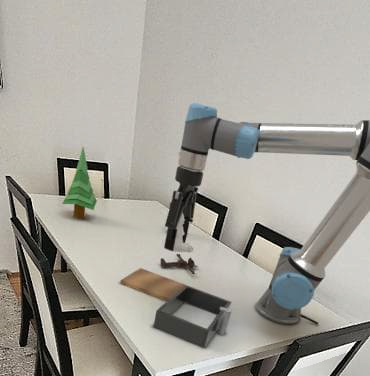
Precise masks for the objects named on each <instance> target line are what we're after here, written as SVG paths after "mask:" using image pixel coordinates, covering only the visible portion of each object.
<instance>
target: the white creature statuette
mask: <svg viewBox="0 0 370 376" xmlns="http://www.w3.org/2000/svg"><path fill="white" fill-rule="evenodd" d="M168 213H169V210H168V211H167V214H168ZM184 221H185V219H184V214H183V213H182V214H181V217H180V220H179V222H178V225H177V228H176V229H177V234H176V239H175V244H174V249H173V251H171V250H168V249H166V250H167V251H170V252H173V253H174V252H175V253H192V252H193V251H194V246H193V245H191V244H190V242H185V243H183V238H182V237H183V235H184V234H185V233H184V230H183V225H182V224H184ZM166 235H167V233H165V235H164V237H163V239H162V246H163V247H164V246H165V240H166Z"/></svg>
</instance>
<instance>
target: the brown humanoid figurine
mask: <svg viewBox="0 0 370 376" xmlns="http://www.w3.org/2000/svg"><path fill="white" fill-rule="evenodd" d="M175 255H176V257H177V258H178V260H177V261H166V260H165V258H163V257H162V258H160V267H162V269H165V268H175V267H176V268H177V267H179V268H186V269H187V270H188V271H189V272H190V274H191V275H193V276H194V275H196V271H195V269H194V270H193V268H198V265H196V264H195V261H194V260H193V259H192V257H189V258H187V259H188V260H187V261H186V260H185V259H184V258H182V256H181V253H176V254H175Z"/></svg>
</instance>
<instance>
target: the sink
mask: <svg viewBox="0 0 370 376" xmlns="http://www.w3.org/2000/svg"><path fill="white" fill-rule="evenodd" d="M184 303H186V304H189V305H192V306H194V307H197V308H198V309H199V308H200V309H202V310H205V311H207V312H210V313H212V314H215V315H216V317H215V318H214V319H213V320H212V321H211V323H210V324H209V325H208V327H207V328H206V327H204V326H201V325H198V324H196V323H193V322H191V321H188V320H186V319H184V318H181V317H179V316H175V315H174V314H173V313H174V312H175V311H176V310H177V309H179V307H180V306H181V305H182V304H184ZM231 306H232V301H230V300H227V299H224V298H222V297H219V296H216V295H214V294H212V293H209V292H206V291H203V290H201V289H198V288H196V287H193V286H190V285H187V284H185V286H184V287H183V288H182V289H181V290H180V291H179V292H177V293H176V294H175V295H174V296H173V297H172V298H170V299H169V300H168V301H165V303H163V304H162V305H160V307H158V308H157V310H156V312H155V317H154V321H153V328H155V329H157V330H160V331H163V332H164V333H167V334H170V335H173V336H174V337H177V338H180V339H182V340H183V341H186V342H189V343H192V344H193V345H195V346H196V345H197V346H198V347H201V348H206V346H207V345H208V343H210V341H211V339H212V338H213V337H214V336H215V334H216V332H217V334H218V335H221V336H223V335H225V333H226V331H227V327H228V324H229V321H230V317H231V314H232V309H230V308H231Z"/></svg>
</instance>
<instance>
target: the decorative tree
mask: <svg viewBox="0 0 370 376" xmlns="http://www.w3.org/2000/svg"><path fill="white" fill-rule="evenodd" d="M88 169H89V168H88V163H87V158H86V153H85V148H84V147H81V152H80V155H79V159H78V163H77V166H76V170H75V173H74V176H73V180H72V182H71V185H70V186H69V189H68V191H67V193H66V195H65V197H64V199H63V201H62V205H73V218H75V219H80V220H81V219H82V220H83V219H85V213H86V209H89V210H92V211H94V210H95V207H96V205H97V202H98V201H97V199H96V195H95V194H94V189H93V187H92V183H91V181H90V175H89V172H88Z"/></svg>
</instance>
